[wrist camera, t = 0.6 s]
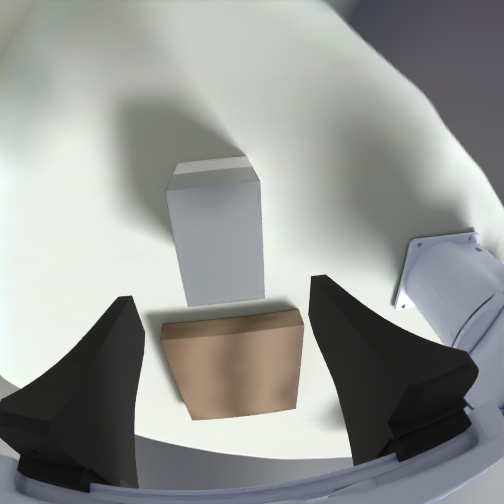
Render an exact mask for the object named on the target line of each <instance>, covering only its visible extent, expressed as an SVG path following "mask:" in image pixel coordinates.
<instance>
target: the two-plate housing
mask: <svg viewBox="0 0 504 504" xmlns="http://www.w3.org/2000/svg"><path fill="white" fill-rule="evenodd" d="M165 192H166V198H167V204H168V210H169V215H170V221H171V227H172V232H173V237H174V243H175V248H176V253H177V258H178V263H179V268H180V273H181V277H182V282H183V287H184V291H185V296H186V300H187V304H188V307H192V306H203V305H212V304H222V303H231V302H240V301H249V300H257V299H265V289H264V262H263V236H262V212H261V189H260V180H259V178H258V176H257V174H256V173H255V171H254V169H253V167H252V165H251V163H250V161H249V159H248V157H247V156H240V157H229V158H218V159H209V160H200V161H191V162H183V163H178V165H177V167H176V169H175V171H174V173H173V176H172V178H171V180H170V182H169V185H168V187H167V189H166V191H165Z"/></svg>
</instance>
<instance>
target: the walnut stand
mask: <svg viewBox="0 0 504 504" xmlns="http://www.w3.org/2000/svg"><path fill="white" fill-rule="evenodd" d="M303 334H304V323H303V320H302V317H301V314H300V312H299V309H297V310H290V311H283V312H275V313H267V314H259V315H251V316H243V317H234V318H225V319H215V320H205V321H194V322H183V323H170V324H162V330H161V337H160V342H161V344H162V347H163V350H164V352H165V355H166V358H167V360H168V363H169V366H170V368H171V371H172V373H173V376H174V378H175V381H176V383H177V386H178V388H179V391H180V393H181V395H182V398H183V400H184V402H185V405H186V407H187V409H188V412H189V414H190V416H191V418H192V420H208V419H221V418H232V417H241V416H250V415H258V414H265V413H272V412H279V411H285V410H291V409H296V402H297V394H298V385H299V376H300V366H301V356H302V345H303Z"/></svg>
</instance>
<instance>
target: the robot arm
mask: <svg viewBox="0 0 504 504" xmlns="http://www.w3.org/2000/svg"><path fill="white" fill-rule="evenodd" d="M478 237H479V234H478V233H477V232H469V233H460V234H452V235H443V236H435V237H426V238H417V239H413V240H411V242H410V243H409V248H408V252H407V257H406V261H405V265H404V270H403V274H402V278H401V282H400V286H399V289H398V293H397V297H396V300H395V304H394V309H395V310H396V311H400V310H404V309H408V308H412V307H417V309H418V310H419V311H420V313H421V314H422V315H423V317H424V318H425V319H426V321H427V322H428V323H429V325H430V326H431V327H432V329H433V330H434V332H435V333H436V334H437V336H438V337H439V338H440V340H441V341H442V343H443V344H444V345H445V346H444V345H441V344H438V343H435V342H433V341H430V340H427V339H425V338H422V337H420V336H417V335H415V334H413V333H411V332H409V331H406V330H404V329H402V328H400V327H399V326H397V325H395V324H393V323H391V322H390V321H388V320H386V319H384V318H383V317H381V316H380V315H378V314H377V313H375V312H374V311H372V310H371V309H369V308H368V307H366V306H365V305H364V304H362V303H361V302H360V301H358V300H357V299H356V298H354V297H353V296H352V295H350V294H349V293H348V292H347V291H345V290H344V289H343V288H342V287H341V286H339V285H338V284H337V283H336V282H334V281H333V280H332V279H331V278H329V277H328V276H327V275H326V274H325V275H318V276H311V286H310V299H309V312H308V316H309V319H310V323H311V327H312V330H313V333H314V336H315V339H316V341H317V343H318V346H319V348H320V350H321V353H322V355H323V357H324V360H325V362H326V364H327V367H328V369H329V371H330V374H331V376H332V378H333V381H334V384H335V387H336V390H337V394H338V397H339V401H340V404H341V408H342V412H343V416H344V420H345V424H346V428H347V433H348V437H349V442H350V447H351V452H352V458H353V463H354V466H353V467H350V468H346V469H343V470H339V471H335V472H331V473H328V474H324V475H319V476H315V477H310V478H306V479H300V480H295V481H290V482H284V483H278V484H272V485H264V486H257V487H247V488H237V489H226V490H206V491H205V490H204V491H168V490H166V491H165V490H147V489H139V486H138V478H137V470H136V459H135V439H134V420H135V402H136V395H137V389H138V383H139V378H140V372H141V367H142V361H143V356H144V345H145V330H144V328H143V325H142V322H141V320H140V317H139V314H138V311H137V309H136V306H135V303H134V300H133V297H132V296H121V297H118V298H117V299H116V300H115V301H114V302H113V303H112V304H111V306H110V307H109V308H108V309H107V310H106V312H105V313H104V314H103V315H102V316H101V317H100V319H99V320H98V321H97V322H96V323H95V325H94V326H93V327H92V328H91V329H90V330H89V331H88V333H87V334H86V335H85V336H84V337H83V338H82V339H81V340H80V341H79V342H78V343H77V345H76V346H75V347H74V348H73V349H72V350H71V351H70V352H69V353H68V354H66V355H65V356H64V357H63V358H62V359H61V360H60V361H59V362H58V363H56V364H55V365H54V366H53V367H51V368H50V369H49V370H48V371H46V372H45V373H44V374H43V375H41V376H40V377H38V378H37V379H36V380H34V381H33V382H31V383H30V384H28V385H26V386H25V387H23V388H22V389H20V390H18V391H16V392H14V393H13V394H11V395H9V396H7V397H5V398H3V399H1V401H0V438H1V439H2V440H3V441H4V442H6V443H7V444H8V445H9V446H10V447H12V448H13V449H14V450H15V451H16V452H18V453H19V454H20V459H19V460H17V459H15V458H13V457H11V456H8V455H5V454H2V453H0V504H432V503H434V502H436V501H438V500H440V499H442V498H444V497H445V496H447V495H449V494H451V493H453V492H454V491H456V490H458V489H459V488H461V487H462V486H464V485H466V484H468V483H469V482H471V481H472V480H474V479H475V478H477V477H478V476H480V475H481V474H483V473H484V472H485V471H487V470H489V469H490V468H491V467H493V466H494V465H495V464H497V463H498V462H499V461H500V460H502V459H503V458H504V264H502V263H501V262H500V261H499V260H498V259H497V258H495V257H494V256H493V255H492V254H491V253H490V252H488V251H487V250H486V249H485V248H483V247H482V246H481V245H480V244H479V243H477V241H478ZM418 244H419V245H418ZM326 495H329V496H328V498H326V499H321V500H315V501H309V502H307V501H305V500H310V499H314V498H319V497H323V496H326Z"/></svg>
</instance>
